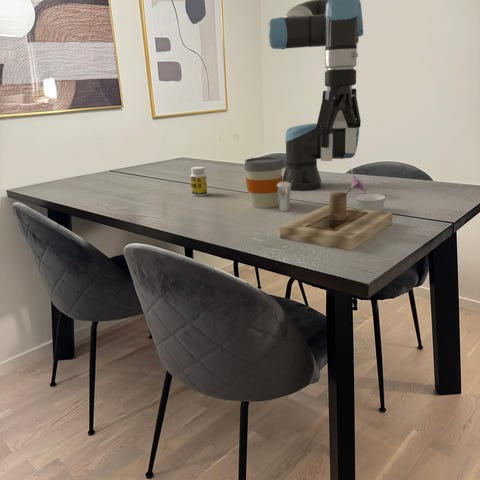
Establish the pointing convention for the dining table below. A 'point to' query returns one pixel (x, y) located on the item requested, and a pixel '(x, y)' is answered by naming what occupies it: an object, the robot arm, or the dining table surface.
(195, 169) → the supplement bottle
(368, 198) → the ramekin
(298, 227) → the seat board
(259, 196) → the reusable coffee cup
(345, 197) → the peg
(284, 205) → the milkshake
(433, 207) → the dining table surface
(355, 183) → the lily
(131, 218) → the dining table surface
